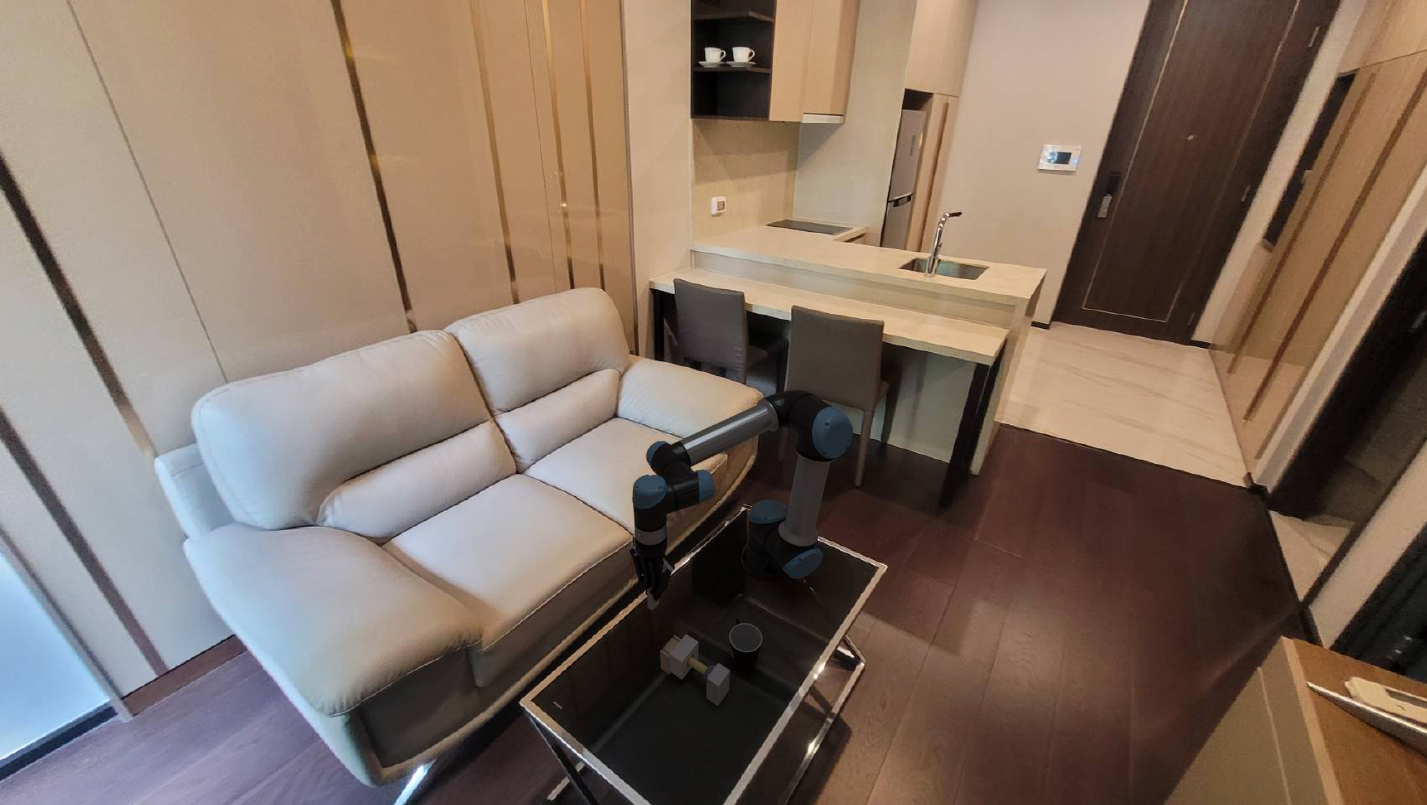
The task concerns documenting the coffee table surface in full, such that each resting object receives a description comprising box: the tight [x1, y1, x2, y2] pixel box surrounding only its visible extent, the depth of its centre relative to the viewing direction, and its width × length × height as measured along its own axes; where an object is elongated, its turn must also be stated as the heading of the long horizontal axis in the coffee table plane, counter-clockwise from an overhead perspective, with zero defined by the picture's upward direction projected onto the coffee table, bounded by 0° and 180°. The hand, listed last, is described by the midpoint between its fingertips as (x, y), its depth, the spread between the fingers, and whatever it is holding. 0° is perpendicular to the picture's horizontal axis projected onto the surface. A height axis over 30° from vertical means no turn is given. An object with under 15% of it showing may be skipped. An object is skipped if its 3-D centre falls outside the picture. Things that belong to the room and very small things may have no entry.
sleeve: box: [669, 633, 699, 680], centre depth 135 cm, size 4×7×7 cm, turn 145°
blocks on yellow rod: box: [659, 634, 731, 707], centre depth 134 cm, size 18×6×8 cm, turn 55°
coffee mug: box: [728, 617, 763, 674], centre depth 139 cm, size 12×9×10 cm
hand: (653, 605), depth 133 cm, fingers closed
